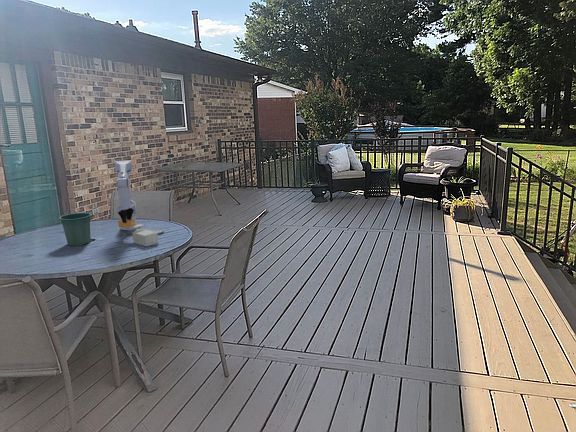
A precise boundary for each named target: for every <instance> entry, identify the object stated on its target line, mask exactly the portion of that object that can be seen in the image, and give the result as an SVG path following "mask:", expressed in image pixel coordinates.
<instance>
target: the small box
mask: <svg viewBox="0 0 576 432" xmlns="http://www.w3.org/2000/svg"><path fill="white" fill-rule="evenodd" d="M148 230H149V229H148ZM148 230H141V231H136V232H132V234H133V235H132V241H133V244H136V245H140V246H144V247H150V246H155V245H158V244H159V237H158V236H159V235H157V233H156V232H152V231H148Z"/></svg>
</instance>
